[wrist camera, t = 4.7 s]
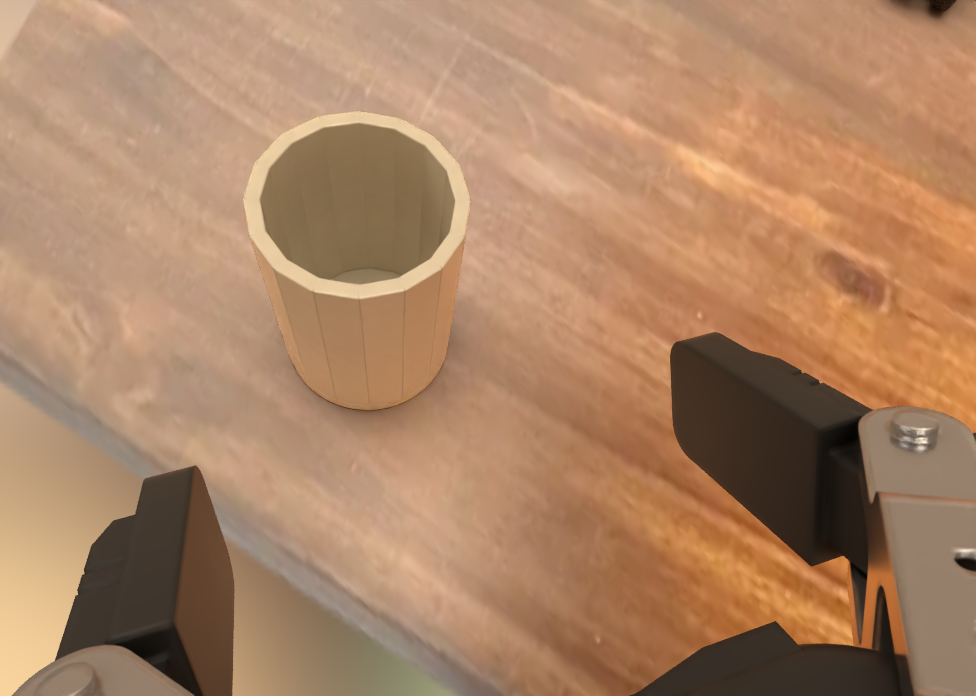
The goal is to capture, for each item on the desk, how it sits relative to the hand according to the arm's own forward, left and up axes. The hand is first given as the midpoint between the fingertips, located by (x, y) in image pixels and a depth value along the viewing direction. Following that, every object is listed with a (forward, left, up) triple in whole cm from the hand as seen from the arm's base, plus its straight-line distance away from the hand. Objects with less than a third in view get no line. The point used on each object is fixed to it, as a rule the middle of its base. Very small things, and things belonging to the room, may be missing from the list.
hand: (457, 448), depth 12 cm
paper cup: (-3, +7, -11) cm, 14 cm away
